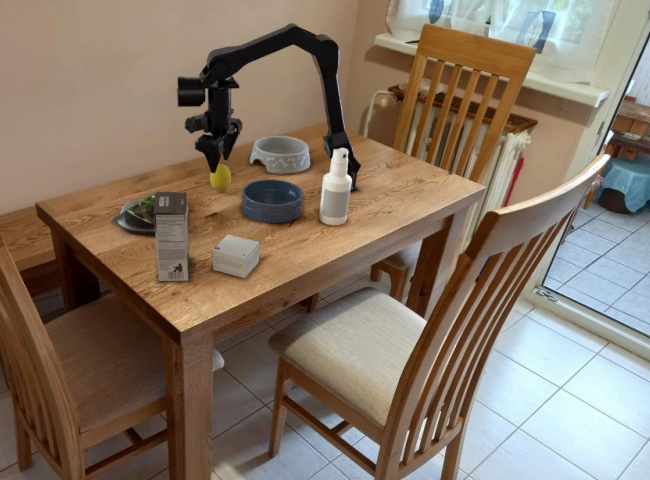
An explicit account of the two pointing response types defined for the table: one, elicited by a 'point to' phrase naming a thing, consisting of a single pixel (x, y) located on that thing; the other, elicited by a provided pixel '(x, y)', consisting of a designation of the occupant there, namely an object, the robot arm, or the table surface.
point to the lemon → (220, 178)
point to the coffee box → (172, 235)
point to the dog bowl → (281, 154)
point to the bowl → (272, 201)
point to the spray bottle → (336, 190)
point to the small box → (235, 256)
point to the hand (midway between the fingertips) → (219, 166)
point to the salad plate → (138, 217)
